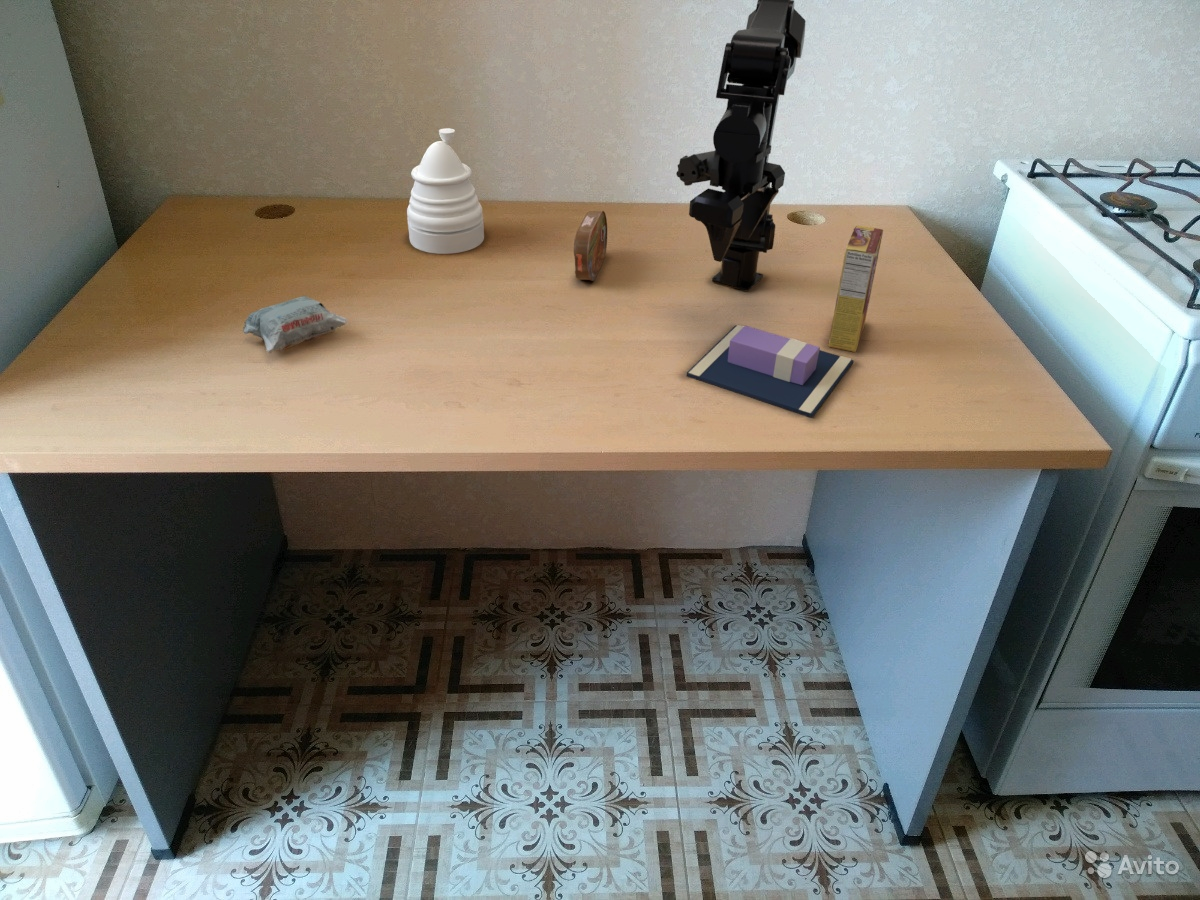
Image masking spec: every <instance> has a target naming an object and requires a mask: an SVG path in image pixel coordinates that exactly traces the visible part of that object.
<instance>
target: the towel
mask: <svg viewBox="0 0 1200 900" xmlns="http://www.w3.org/2000/svg"><path fill="white" fill-rule="evenodd" d="M744 326H745V325H744ZM744 326H743V325H740V324H735V326H733V327H732V328H731V329H730V330H729V331H727V333H726V334H725V335H723V337H722V338H721V339H720V340H718V341H717V343H716V344H715V345H714V346H712V348H710V349H709V350H708V352H706V353H705V354H704V355H703V356H702V357H701V358H700V359H699V360H698V361H697V362H696V363H695V364H694V365H693V366H692V367H691V368H690V369H689V370H688V371H687V372H686V377H688V378H691V379H694V380H698V381H700V382H703V383H706V384H710V385H712V386H716V387H718V388H721V389H724V390H727V391H729V392H733V393H736V394H739V395H742V396H746V397H749V398H751V399H754V400H756V401H760V402H763V403H766V404H770V405H773V406H775V407H778V408H781V409H784V410H787V411H791V412H792V413H796V414H799V415H802V416H805V417H807V418H810V419H811V418H814V416H815V415H816V414H817V412H818V411H819V410H820V408H821V407H822V405H823V404H824V403H825V401H826V400H827V399H828V398H829V397H830V394H831V393H832V392H833V391H834V389H835V388H836V387H837V386H838V384H839V383H840V381H841V380H843V379H842V378H843V377H844V376H845V375H846V373H848V371H849V370H850V368H851V367H852V366H853V364H854V359H852V358H850V357H847V356H844V355H838V354H834V353H830V352H828V351H825V350H821V349H820V350H819V355H818V360H817V365H816V369H815V371H814V372H813V373H812V374H811V376H810V377H809V378H808V379H807V380H806V382H805V383H804V384H803V385H799V384H796V383H793V382H788V381H784V380H781V379H778V378H775V377H773V376H771V375H767V374H764V373H761V372H758V371H755V370H751V369H748V368H745V367H742V366H739V365H735V364H732V363H729V362H728V354H729V346H730V340H731V339H732V338H733V337H734V336H735V335H736V334H737V333H738V332H739V331H740V330H741V329H742V328H743V327H744Z"/></svg>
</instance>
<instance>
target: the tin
mask: <svg viewBox="0 0 1200 900" xmlns="http://www.w3.org/2000/svg"><path fill="white" fill-rule="evenodd" d="M607 245H608V219H607V215H606V213H605V211H604V210H600V211H598V210H592V211H591V210H590V211H589V210H588V212H586V214H585V215H584V218H583V219H582V221H581V223H580V225H579V227H578V228H577V230H576V233H575V237H574V243H573V256H574V269H575V271H574V274H575V278H576V279H578V280H581V281H591V282H593V281H595V280H596V278H597V276H598V273H599V271H600V269H601V267H602V265H603V263H604V261H605V257H606V254H607Z"/></svg>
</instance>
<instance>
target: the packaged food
mask: <svg viewBox="0 0 1200 900" xmlns="http://www.w3.org/2000/svg"><path fill="white" fill-rule="evenodd" d="M347 321H348V320H347V318H346V317H343V316H340V315H337V313H335V312H331V311H329V310H328V309H327V308H326V307H325V305H324V304H323V303H322V302H320V301H319V300H316V299H313V298H310V297H308V296H307V295H302V296H300V297H296V298H292V299H288V300H285V301H284V302H280V303H276V304H273V305H270V306H265V307H263V308H260V309H258V310H256V311H253V312H251V313H250V314H249V315H248V316H247V318H246V320H245V321H244V326H243V328H242V332H243V334H245V335H247V334H252V335H253V336H256V337H259V338H262V339H263V342H264V346H265V351H266V354H269V353H272V352H274V351H275V350H277V351H284V350H286V349H289V348H291V347H293V346H296V345H299V344H301V343H303V342H307V341H312V340H314V339H317V338H319V337H322V336H323V335H326V334H329V333H331V332H334V331H336V330H338V328H341V327H343V326H346V324H347V323H348V322H347Z"/></svg>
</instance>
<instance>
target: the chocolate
mask: <svg viewBox="0 0 1200 900" xmlns="http://www.w3.org/2000/svg"><path fill="white" fill-rule="evenodd" d="M819 350H821V347H820V346H817V345H814V344H810V343H808V342H806V341H802V340H799V339H796V338H792V337H791V338H789V337H787V336H782V335H779V334H776V333H772V332H769V331H766V330H762V329H759V328H755V327H752V326H748V325H744V327H743V328H742V329H741V330H740V331H739V332H738V333H737V334H736V335H735V336H734V337H733V338H732V339H731V340H730V346H729V354H728V362H729V363H732V364H735V365H739V366H742V367H745V368H748V369H751V370H755V371H758V372H761V373H764V374H767V375H771V376H773V377H775V378H778V379H781V380H784V381H788V382H793V383H796V384H799V385H803V384H804V383H805V382H806V380H807V379H808V378H809V377H810V376H811V374H812V373H813V372H814V371H815V369H816V365H817V360H818V355H819Z"/></svg>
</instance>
